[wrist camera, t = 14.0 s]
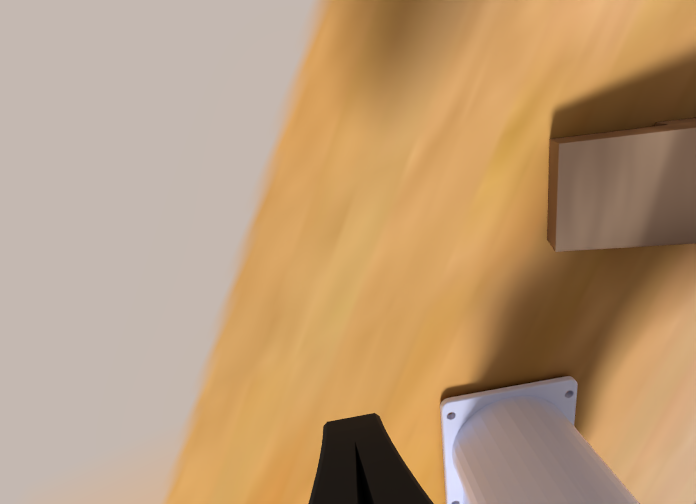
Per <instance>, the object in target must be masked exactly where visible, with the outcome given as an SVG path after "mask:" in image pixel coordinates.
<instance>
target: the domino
mask: <svg viewBox="0 0 696 504" xmlns="http://www.w3.org/2000/svg"><path fill="white" fill-rule="evenodd" d="M547 240H548V242H549V243H550V245H551V246H552V247H553V249H554V250H555V252H559V251H576V250H592V249H609V248H626V247H643V246H659V245H676V244H693V243H696V121H695V122H687V123H679V124H670V125H662V126H654V127H646V128H637V129H629V130H621V131H612V132H604V133H596V134H588V135H579V136H571V137H563V138H554V139H550V148H549V189H548V229H547Z"/></svg>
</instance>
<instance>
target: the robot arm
mask: <svg viewBox="0 0 696 504" xmlns="http://www.w3.org/2000/svg"><path fill="white" fill-rule="evenodd" d="M577 387H578V384H577V382H576V380H575V379H574V378H573V377H571V376H565V377H560V378H554V379H549V380H543V381H538V382H532V383H527V384H521V385H516V386H510V387H505V388H499V389H494V390H488V391H483V392H477V393H472V394H466V395H461V396H455V397H450V398H446V399H444V400H443V401H442V402H441V405H440V410H441V427H442V443H443V460H444V477H445V493H446V504H640V503H639V502H638V501H637V500H636V499H635V498H634V496H633V495H632V494H631V493H630V492H629V490H628V489H627V488H626V487H625V486H624V485H623V483H622V482H621V481H620V480H619V479H618V477H617V476H616V475H615V474H614V473H613V472H612V470H611V469H610V468H609V467H608V466H607V465H606V463H605V462H604V461H603V460H602V459H601V457H600V456H599V455H598V454H597V453H596V452H595V450H594V449H593V448H592V447H591V446H590V444H589V443H588V442H587V441H586V440H585V439H584V437H583V436H582V435H581V434H580V433H579V431H578V430H577V429H576V428H575V427H574V422H575V410H576V399H577ZM567 391H568V392H567ZM566 392H567V393H566ZM451 412H453V413H452V414H450V415H448V414H449V413H451ZM309 504H434V503H433V502H432V501H431V500H430V498H429V497H428V496H427V494H426V493H425V491H424V490H423V489H422V487H421V486H420V484H419V483H418V482H417V480H416V479H415V477H414V476H413V474H412V473H411V471H410V470H409V469H408V467H407V466H406V464H405V462H404V461H403V459H402V458H401V456H400V455H399V453H398V451H397V450H396V448H395V446H394V445H393V443H392V441H391V439H390V438H389V436H388V434H387V432H386V430H385V428H384V426H383V424H382V421H381V419H380V416H378V415H377V414H375V413H373V414H367V415H362V416H357V417H351V418H346V419H340V420H335V421H330V422H327V423H326V424H325V425H324V426H323V440H322V447H321V453H320V459H319V463H318V468H317V473H316V477H315V481H314V485H313V489H312V493H311V497H310V500H309Z"/></svg>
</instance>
